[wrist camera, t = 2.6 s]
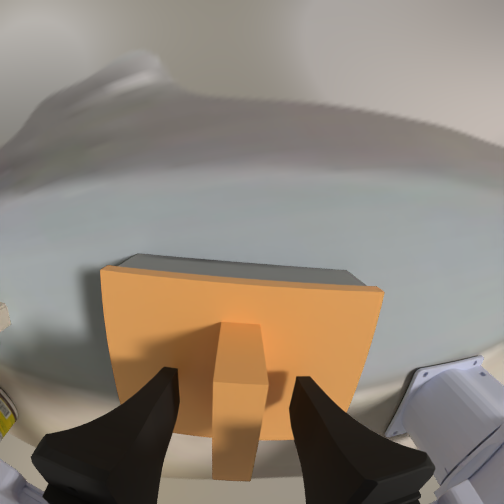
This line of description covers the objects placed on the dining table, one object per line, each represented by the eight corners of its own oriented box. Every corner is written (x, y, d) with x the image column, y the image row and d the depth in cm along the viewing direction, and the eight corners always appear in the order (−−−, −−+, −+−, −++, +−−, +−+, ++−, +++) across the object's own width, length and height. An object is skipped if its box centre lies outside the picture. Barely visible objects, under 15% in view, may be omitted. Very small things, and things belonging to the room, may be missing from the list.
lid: (368, 280, 13) (435, 331, 7) (329, 417, 15) (354, 485, 9) (116, 260, 12) (46, 303, 7) (133, 404, 14) (105, 472, 8)
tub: (347, 270, 15) (372, 290, 12) (318, 391, 17) (330, 425, 14) (137, 253, 15) (111, 269, 11) (146, 380, 17) (131, 413, 13)
